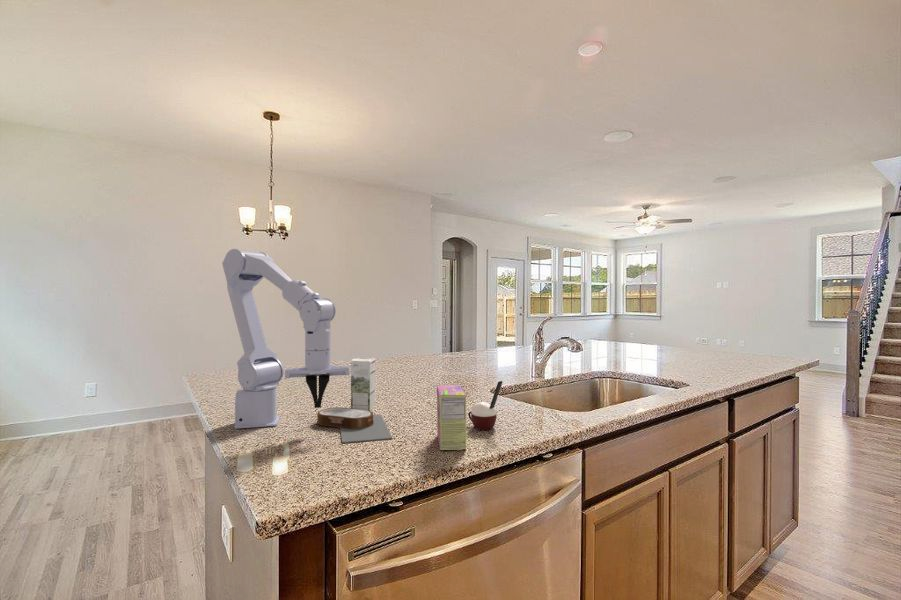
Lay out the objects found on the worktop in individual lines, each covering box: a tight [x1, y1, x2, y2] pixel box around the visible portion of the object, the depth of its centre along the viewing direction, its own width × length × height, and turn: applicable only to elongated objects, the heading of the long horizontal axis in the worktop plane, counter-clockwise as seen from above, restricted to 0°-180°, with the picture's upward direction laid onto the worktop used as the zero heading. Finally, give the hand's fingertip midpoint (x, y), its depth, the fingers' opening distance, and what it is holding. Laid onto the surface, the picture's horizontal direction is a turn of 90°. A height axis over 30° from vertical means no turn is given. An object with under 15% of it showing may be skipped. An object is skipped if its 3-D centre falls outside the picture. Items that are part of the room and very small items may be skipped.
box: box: [436, 384, 467, 451], centre depth 95 cm, size 10×6×12 cm, turn 5°
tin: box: [316, 407, 374, 429], centre depth 109 cm, size 15×3×8 cm
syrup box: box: [350, 357, 376, 412], centre depth 123 cm, size 6×6×14 cm
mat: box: [339, 414, 393, 444], centre depth 106 cm, size 11×20×1 cm, turn 17°
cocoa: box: [467, 380, 503, 431], centre depth 106 cm, size 10×6×12 cm, turn 29°
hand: (317, 406), depth 103 cm, fingers closed
